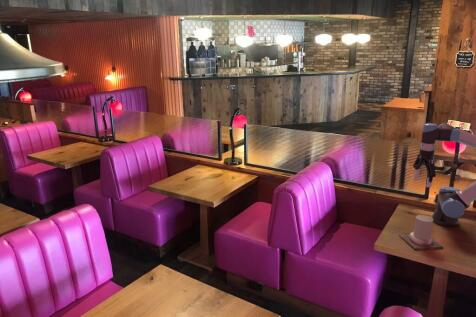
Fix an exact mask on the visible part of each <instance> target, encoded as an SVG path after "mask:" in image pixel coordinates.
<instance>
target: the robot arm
mask: <svg viewBox="0 0 476 317" xmlns="http://www.w3.org/2000/svg"><path fill="white" fill-rule="evenodd" d="M422 127H423V128H422V131H421V141H420V149H419V154H417V155H416V156H417V157H416V159H415V161H414V163H413V164H412V167H413V168H414V175H413V180H419V177H420V172H421V170H420V168H421V167H422V166H423V165H424V167H425V168H426V172H427V178H426V187H425V188H431V187H432V184H433V181H434V180H433V179H434V178H436V176H437V174H436V167H435V159H432V157H434V152H435V151H434V150H435V147H436V141H437V142H438V141H439V142H440V141H441V142H448V143H449V142H451V143H452V142H453V143H460V144H462V145H464V146H467V147H469V148H472V149H475V150H476V134H474V133H470V132H468V131H466V130H463V129H460V128H458V127H454V126H452V125H450V124H448V123H446V122H445V123H441V124H439V125H437V123H431V122H428V123H424V124H423V126H422ZM474 201H476V180H475V181H473V182H472V183H470V184H469V185H467V186H466V187H464V188H463V189H462V190H460V189H459V188H457V187H453V186H441V187H439V190H438V196H437V203H436V208H435V210H434V212H433V214H432V215H431V218H433V223H435V224H437V225H440V226H444V227H455V226H457V225H458V224H459V218H460V217H462V216H463V215H465V211H466V210H467V209H469V208H470V207H471V204H472V202H474Z"/></svg>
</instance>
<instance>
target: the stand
mask: <svg viewBox="0 0 476 317" xmlns="http://www.w3.org/2000/svg"><path fill="white" fill-rule="evenodd" d="M413 234H414V231H412V232H410V233H402V234H401V233H400V234H399V235H398V236H399V237H400V239H402V240H403V241H404V242H405V243H406V244H407V245H408V246H410V248H412V250H414V251H420V250H421V251H422V250H424V251H425V250H437V249H444V246H443V245H442V244H441V243H439V242H438V241H437V240H435V239H434V238H433V237H432V235H431V238H430V239H429V240H420V239H417V238H415V237H414V236H413Z"/></svg>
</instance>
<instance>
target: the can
mask: <svg viewBox="0 0 476 317" xmlns="http://www.w3.org/2000/svg"><path fill="white" fill-rule="evenodd" d="M433 223H434V222H433V218H432V216H429V215H425V214H419V215H416V216H415V221H414V229H413V232H414V234H413V236H414V237H415V238H417V239H420V240H429V239H430V238H431V236H432V229H433Z"/></svg>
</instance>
